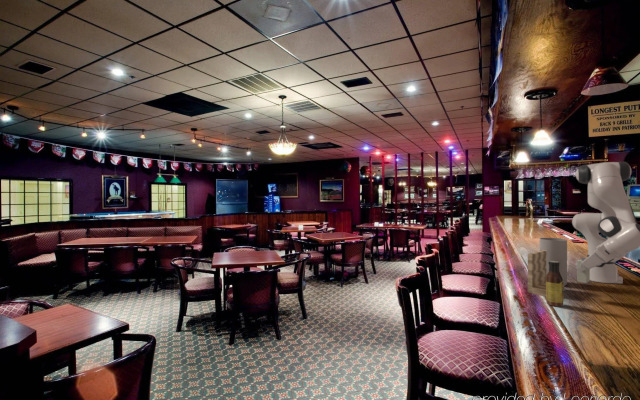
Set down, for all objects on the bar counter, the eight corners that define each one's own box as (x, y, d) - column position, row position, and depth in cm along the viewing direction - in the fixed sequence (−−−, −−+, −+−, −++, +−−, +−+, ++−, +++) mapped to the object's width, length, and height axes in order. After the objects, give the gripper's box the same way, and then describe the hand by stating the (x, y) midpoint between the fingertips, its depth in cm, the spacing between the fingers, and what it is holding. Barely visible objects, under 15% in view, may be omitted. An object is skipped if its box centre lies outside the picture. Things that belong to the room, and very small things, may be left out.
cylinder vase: (543, 284, 174) (543, 240, 173) (537, 279, 185) (537, 237, 185) (570, 287, 169) (570, 241, 169) (562, 281, 181) (562, 238, 180)
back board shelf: (542, 286, 171) (542, 249, 171) (564, 290, 163) (564, 252, 163) (527, 292, 161) (527, 253, 161) (550, 297, 153) (550, 256, 152)
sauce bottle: (566, 307, 139) (566, 263, 139) (550, 306, 140) (550, 262, 140) (558, 302, 146) (558, 260, 145) (543, 301, 147) (543, 259, 147)
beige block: (580, 279, 153) (580, 256, 153) (589, 281, 150) (589, 257, 150) (577, 281, 150) (577, 257, 150) (586, 283, 147) (586, 258, 147)
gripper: (608, 244, 150) (583, 261, 158) (595, 249, 138) (568, 267, 147) (621, 255, 147) (594, 271, 155) (608, 261, 135) (580, 278, 143)
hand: (581, 269), depth 151 cm, fingers closed on beige block, 5 cm apart
